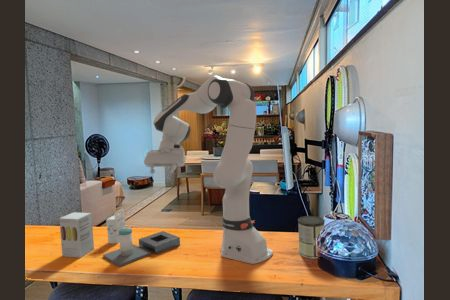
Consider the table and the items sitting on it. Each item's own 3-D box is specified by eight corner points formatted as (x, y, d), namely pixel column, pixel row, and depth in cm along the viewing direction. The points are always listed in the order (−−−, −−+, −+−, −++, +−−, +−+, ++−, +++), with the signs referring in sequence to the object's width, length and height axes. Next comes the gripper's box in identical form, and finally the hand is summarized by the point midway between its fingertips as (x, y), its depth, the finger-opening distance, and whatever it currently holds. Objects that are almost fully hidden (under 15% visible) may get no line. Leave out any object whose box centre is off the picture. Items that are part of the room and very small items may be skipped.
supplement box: (61, 256, 132) (57, 218, 131) (76, 247, 141) (73, 211, 140) (81, 258, 130) (77, 219, 128) (95, 248, 139) (91, 212, 137)
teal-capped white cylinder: (136, 253, 130) (134, 230, 129) (124, 257, 126) (122, 233, 125) (129, 249, 134) (127, 227, 133) (117, 254, 130) (116, 230, 129)
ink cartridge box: (117, 236, 153) (115, 207, 152) (126, 237, 152) (124, 207, 151) (107, 243, 145) (105, 212, 143) (117, 243, 144) (115, 213, 142)
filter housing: (180, 244, 140) (179, 237, 139) (155, 254, 131) (154, 246, 130) (163, 238, 149) (162, 230, 148) (139, 246, 140) (138, 239, 139)
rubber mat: (150, 254, 130) (150, 252, 130) (119, 267, 120) (119, 264, 120) (133, 246, 140) (133, 244, 140) (103, 257, 130) (102, 254, 130)
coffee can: (303, 246, 133) (302, 214, 132) (327, 251, 127) (327, 217, 126) (294, 255, 124) (294, 221, 123) (320, 261, 119) (320, 225, 117)
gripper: (146, 146, 156) (138, 169, 147) (185, 145, 152) (179, 168, 144) (150, 154, 161) (143, 176, 152) (188, 153, 157) (183, 176, 149)
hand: (161, 172), depth 148 cm, fingers open, 8 cm apart
